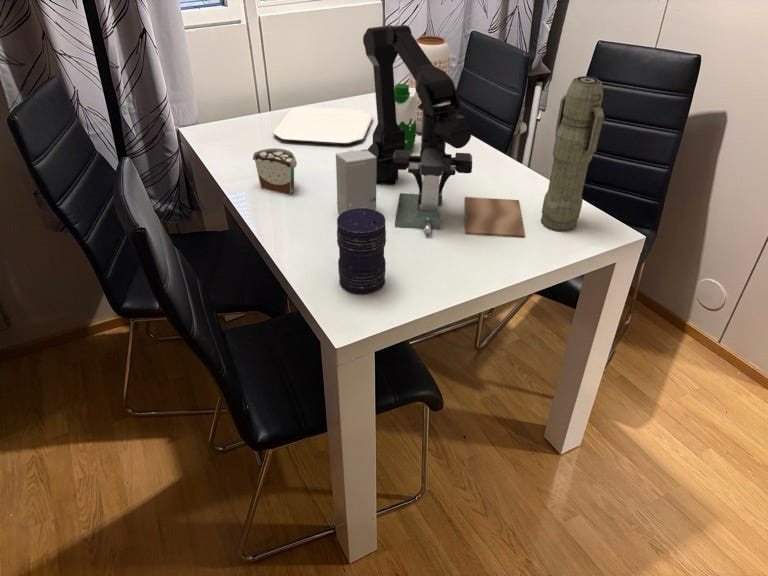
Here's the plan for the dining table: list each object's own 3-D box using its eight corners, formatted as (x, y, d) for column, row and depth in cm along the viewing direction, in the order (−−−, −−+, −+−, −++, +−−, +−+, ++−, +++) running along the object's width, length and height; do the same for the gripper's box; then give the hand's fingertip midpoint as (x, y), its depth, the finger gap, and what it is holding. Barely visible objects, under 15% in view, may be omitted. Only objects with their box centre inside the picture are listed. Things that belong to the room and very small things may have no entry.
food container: (307, 187, 165) (305, 152, 159) (295, 197, 160) (292, 161, 154) (269, 178, 169) (265, 144, 163) (256, 187, 164) (252, 152, 159)
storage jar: (331, 289, 127) (327, 226, 118) (349, 264, 135) (348, 204, 126) (375, 299, 124) (375, 236, 116) (392, 274, 132) (393, 213, 123)
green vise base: (393, 235, 145) (393, 224, 143) (399, 198, 160) (399, 187, 158) (439, 238, 144) (440, 227, 142) (441, 200, 159) (442, 190, 158)
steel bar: (420, 210, 149) (422, 188, 145) (422, 195, 155) (423, 173, 152) (437, 211, 148) (438, 189, 145) (438, 196, 155) (439, 174, 151)
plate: (292, 111, 212) (292, 105, 211) (375, 116, 209) (375, 110, 208) (269, 144, 189) (268, 137, 188) (361, 150, 186) (361, 143, 185)
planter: (406, 121, 204) (408, 33, 188) (445, 122, 204) (452, 34, 188) (405, 137, 194) (408, 44, 177) (447, 138, 193) (454, 45, 177)
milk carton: (384, 154, 183) (384, 87, 171) (389, 142, 190) (390, 77, 178) (413, 156, 182) (416, 89, 170) (417, 145, 189) (420, 79, 177)
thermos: (564, 238, 144) (596, 90, 124) (528, 218, 152) (552, 76, 132) (589, 228, 149) (624, 83, 128) (553, 208, 156) (580, 69, 136)
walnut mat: (465, 234, 146) (465, 232, 145) (464, 199, 160) (464, 197, 160) (524, 237, 145) (525, 235, 144) (518, 202, 159) (518, 199, 159)
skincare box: (347, 223, 149) (345, 163, 140) (335, 211, 154) (333, 152, 145) (378, 216, 152) (378, 157, 143) (365, 204, 157) (365, 146, 148)
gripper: (390, 144, 135) (389, 207, 144) (475, 148, 134) (468, 211, 143) (394, 125, 144) (393, 185, 153) (474, 129, 143) (468, 189, 152)
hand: (430, 193), depth 150 cm, fingers closed on steel bar, 4 cm apart
